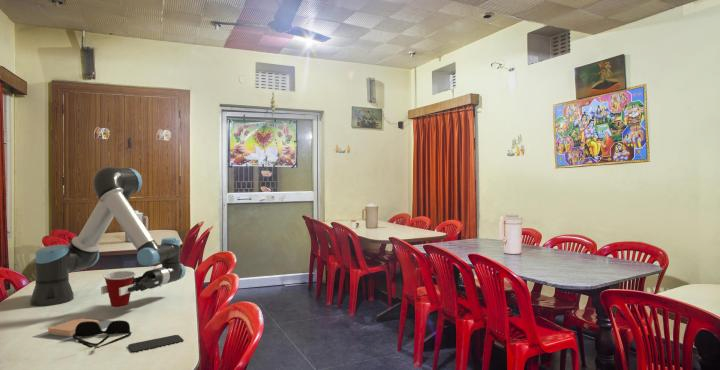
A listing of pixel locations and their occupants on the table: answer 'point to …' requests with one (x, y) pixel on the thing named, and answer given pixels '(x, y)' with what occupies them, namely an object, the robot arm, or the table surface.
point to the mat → (45, 335)
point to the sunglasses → (100, 331)
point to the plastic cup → (118, 286)
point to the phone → (154, 343)
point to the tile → (67, 327)
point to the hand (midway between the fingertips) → (110, 291)
